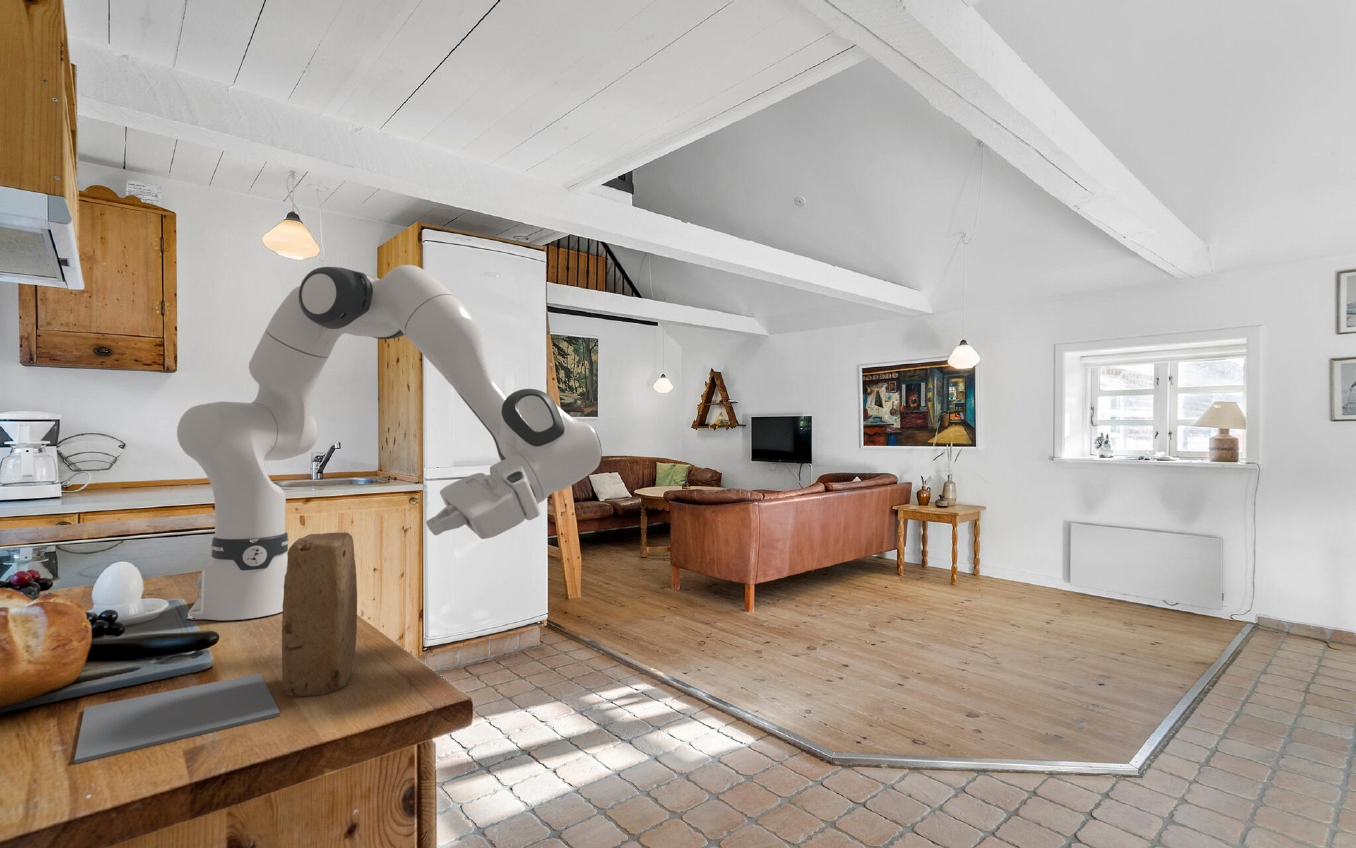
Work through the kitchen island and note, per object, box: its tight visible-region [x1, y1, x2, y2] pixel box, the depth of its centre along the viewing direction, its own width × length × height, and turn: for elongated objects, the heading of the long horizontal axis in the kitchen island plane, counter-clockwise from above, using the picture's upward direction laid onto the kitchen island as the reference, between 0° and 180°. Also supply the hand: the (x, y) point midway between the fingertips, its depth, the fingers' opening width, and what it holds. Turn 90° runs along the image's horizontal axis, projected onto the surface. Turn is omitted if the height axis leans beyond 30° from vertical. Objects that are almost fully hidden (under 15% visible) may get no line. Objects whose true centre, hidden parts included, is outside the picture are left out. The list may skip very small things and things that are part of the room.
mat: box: [73, 672, 281, 765], centre depth 78 cm, size 16×18×1 cm
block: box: [281, 532, 358, 697], centre depth 88 cm, size 11×8×20 cm
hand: (429, 528), depth 97 cm, fingers closed
